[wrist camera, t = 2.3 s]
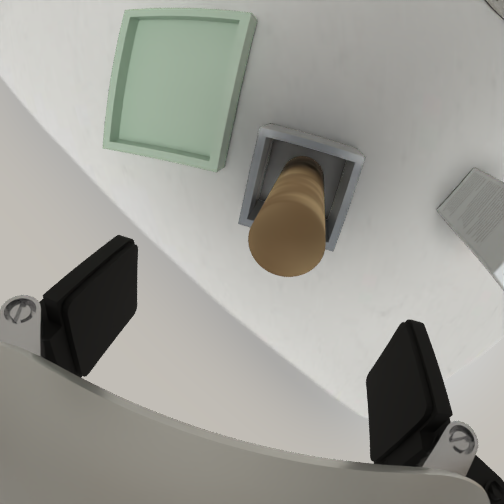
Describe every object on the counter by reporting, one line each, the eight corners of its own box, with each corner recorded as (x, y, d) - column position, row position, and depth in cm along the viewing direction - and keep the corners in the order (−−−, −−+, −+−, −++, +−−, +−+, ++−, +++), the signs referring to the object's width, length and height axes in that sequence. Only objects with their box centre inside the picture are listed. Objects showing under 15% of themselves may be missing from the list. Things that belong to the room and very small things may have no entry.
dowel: (328, 162, 26) (336, 219, 13) (316, 200, 27) (312, 285, 15) (287, 151, 26) (257, 196, 14) (278, 189, 28) (241, 264, 15)
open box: (357, 148, 24) (365, 157, 20) (331, 227, 28) (333, 251, 24) (270, 123, 25) (259, 127, 21) (251, 204, 29) (238, 223, 24)
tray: (257, 20, 21) (251, 12, 19) (224, 166, 28) (216, 172, 26) (138, 14, 22) (125, 10, 20) (116, 144, 29) (102, 148, 27)
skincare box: (459, 237, 26) (514, 309, 15) (434, 209, 25) (491, 274, 15) (497, 195, 23) (567, 250, 12) (474, 164, 22) (549, 207, 12)
